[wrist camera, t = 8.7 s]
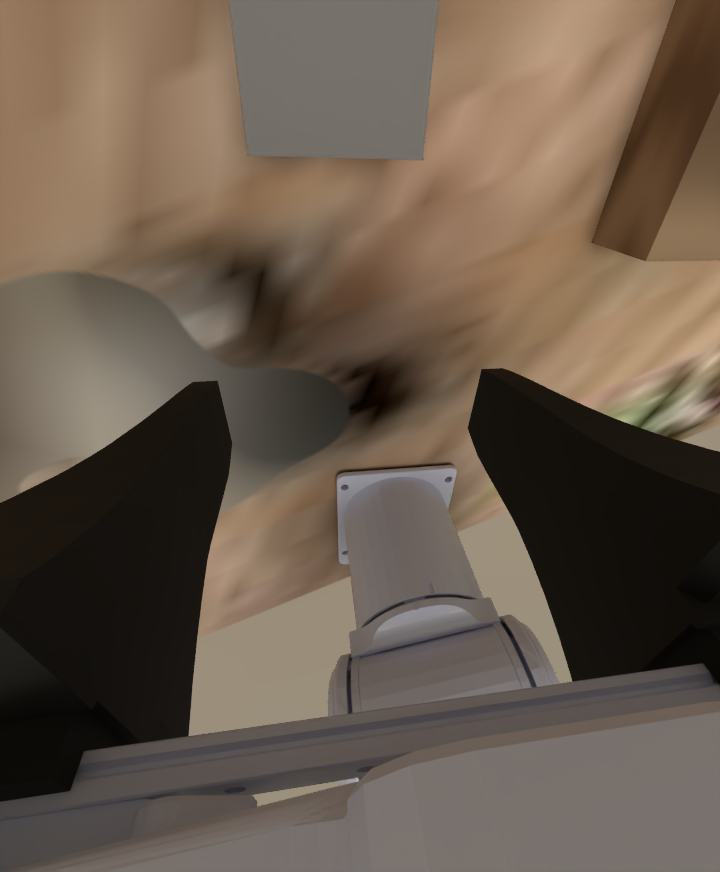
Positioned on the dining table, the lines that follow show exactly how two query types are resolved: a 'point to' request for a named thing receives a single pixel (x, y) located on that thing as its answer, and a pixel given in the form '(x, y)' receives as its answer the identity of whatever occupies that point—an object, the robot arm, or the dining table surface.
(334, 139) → the charcoal cube
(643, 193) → the walnut block
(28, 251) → the dining table surface
